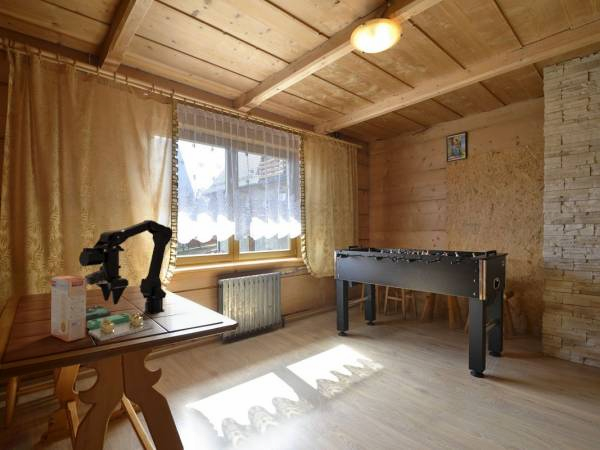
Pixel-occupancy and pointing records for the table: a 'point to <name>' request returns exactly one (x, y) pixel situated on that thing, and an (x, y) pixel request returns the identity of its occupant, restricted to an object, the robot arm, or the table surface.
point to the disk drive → (96, 312)
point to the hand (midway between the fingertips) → (110, 302)
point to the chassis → (120, 327)
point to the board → (114, 319)
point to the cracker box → (68, 308)
